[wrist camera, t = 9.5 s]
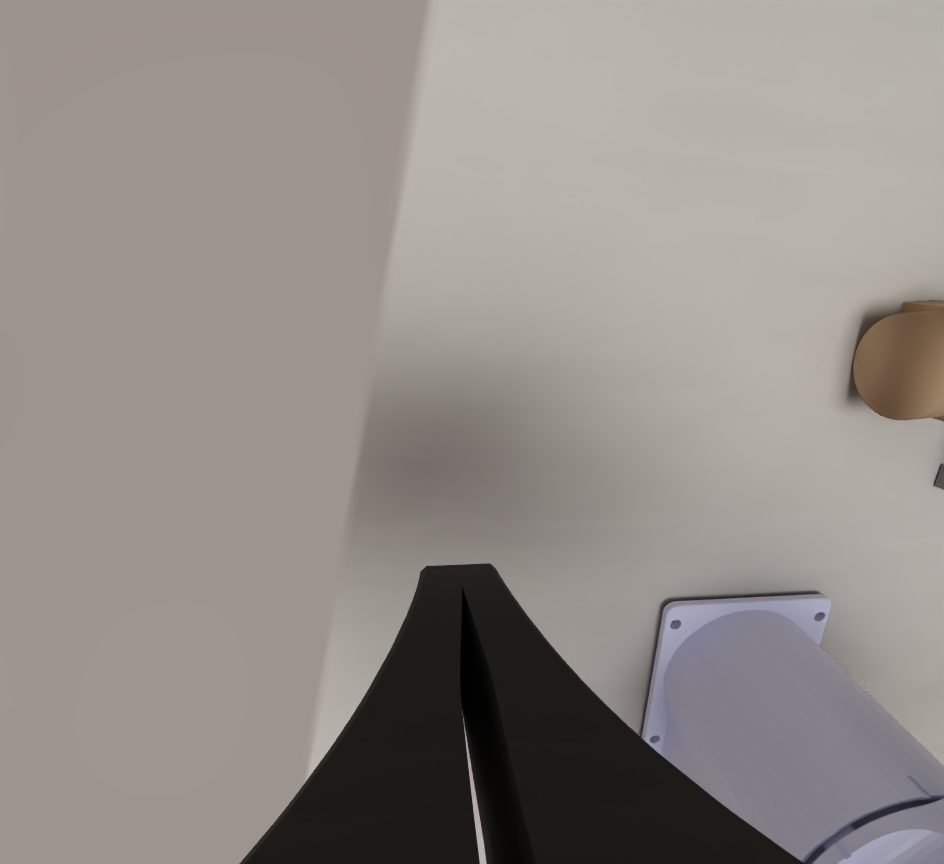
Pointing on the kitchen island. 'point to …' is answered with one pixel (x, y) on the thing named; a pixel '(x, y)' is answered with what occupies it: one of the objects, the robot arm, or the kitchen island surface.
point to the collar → (940, 478)
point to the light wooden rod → (904, 363)
